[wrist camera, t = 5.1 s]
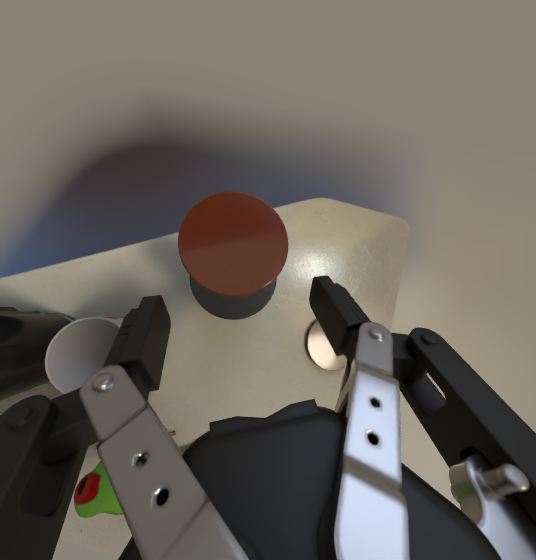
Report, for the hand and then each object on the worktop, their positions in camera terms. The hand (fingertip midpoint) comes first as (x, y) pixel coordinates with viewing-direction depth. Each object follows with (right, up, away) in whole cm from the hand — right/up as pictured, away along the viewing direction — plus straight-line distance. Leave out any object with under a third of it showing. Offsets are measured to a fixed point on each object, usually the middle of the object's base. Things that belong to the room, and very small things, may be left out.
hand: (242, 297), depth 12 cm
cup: (-19, -8, +21) cm, 29 cm away
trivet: (+12, -10, +25) cm, 30 cm away
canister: (-2, +1, +12) cm, 13 cm away
